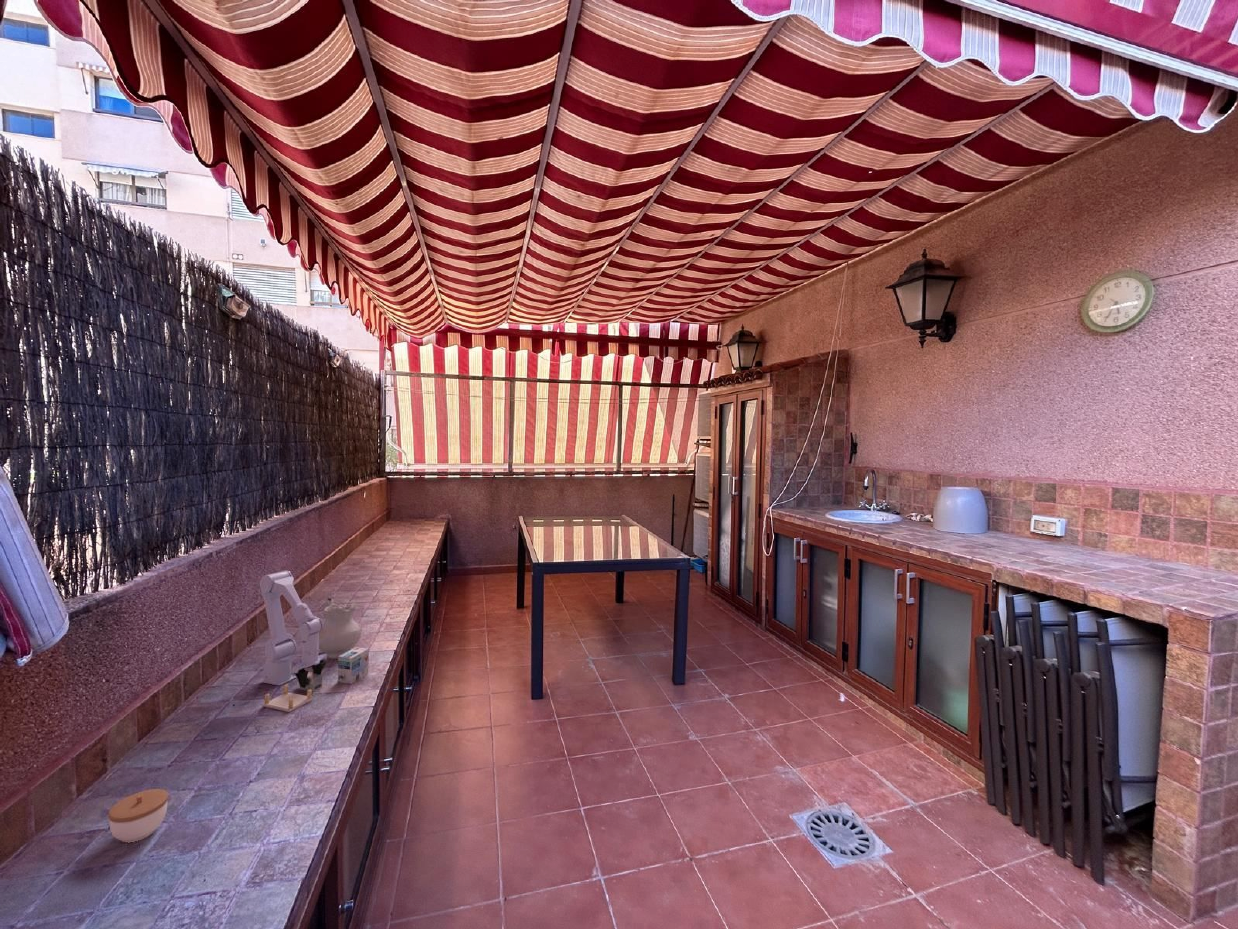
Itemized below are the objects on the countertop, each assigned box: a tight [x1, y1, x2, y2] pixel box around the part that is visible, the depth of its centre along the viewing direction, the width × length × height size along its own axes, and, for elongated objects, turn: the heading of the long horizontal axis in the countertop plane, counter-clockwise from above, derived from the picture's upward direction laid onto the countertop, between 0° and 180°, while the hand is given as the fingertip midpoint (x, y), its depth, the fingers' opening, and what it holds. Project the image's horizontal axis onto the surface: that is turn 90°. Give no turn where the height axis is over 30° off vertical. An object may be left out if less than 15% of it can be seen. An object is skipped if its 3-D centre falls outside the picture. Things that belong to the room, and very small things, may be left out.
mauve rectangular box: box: [296, 671, 323, 693], centre depth 204 cm, size 8×4×5 cm, turn 74°
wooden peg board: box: [263, 684, 313, 713], centre depth 191 cm, size 13×10×4 cm
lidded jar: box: [108, 788, 169, 844], centre depth 126 cm, size 11×11×9 cm
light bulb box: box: [337, 646, 370, 685], centre depth 214 cm, size 11×7×11 cm, turn 168°
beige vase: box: [319, 596, 363, 660], centre depth 238 cm, size 22×20×25 cm
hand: (309, 683), depth 204 cm, fingers open, 6 cm apart
